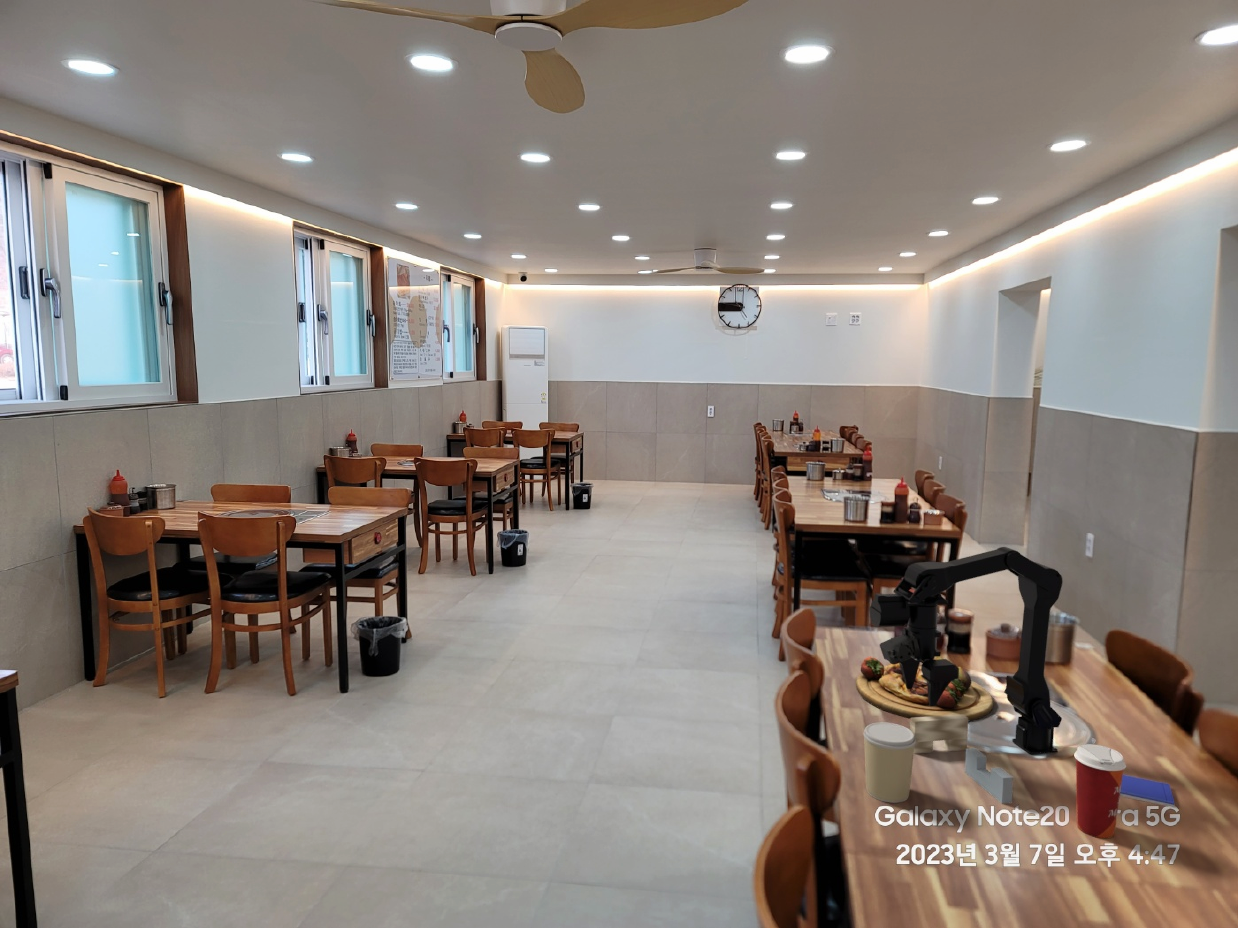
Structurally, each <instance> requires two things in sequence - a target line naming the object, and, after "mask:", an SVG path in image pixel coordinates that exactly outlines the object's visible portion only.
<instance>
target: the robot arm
mask: <svg viewBox="0 0 1238 928" xmlns="http://www.w3.org/2000/svg"><path fill="white" fill-rule="evenodd" d="M1004 571H1008V572H1010V573H1011V574H1013V575H1015V576H1016V577H1017V580H1018V591H1019V593H1020V595H1021V596H1020V597H1021V599H1022V601H1023V606H1024V607H1023V617H1022V625H1021V637H1020V649H1019V658H1018V669H1017V670H1016V671H1015V673H1014V674H1013V675H1006V677H1005V682H1006V685H1005V690H1004V691H1003V692H1004V694H1006V698H1007V701H1008V702H1009V703H1010V705H1012V706H1013V710H1014V712H1016V713H1017V714H1019V715H1020V716H1018V717H1017V724H1016V726H1015V738H1012V739H1011V741H1012V742H1013V743H1014V744H1016V746H1018V747H1019V748H1021V749H1022V750H1024V751H1026V752H1027V753H1028V754H1030V755H1041V754H1055V753H1058V752H1059V749H1058V748H1056V747H1055V746H1054V735H1055V734H1054V733H1055V732H1054V731H1055V728H1059V727H1060V726H1061V722H1062V719H1063V718H1062V716H1061V715H1060V714H1059V713H1058V712H1057V711H1056V710H1054V709H1053V707H1052V706H1051V695H1050V694H1051V693H1050V689H1049V687H1048V684H1047V680H1046V678H1045V667H1046V666H1045V665H1046V657H1047V647H1048V635H1049V624H1050V615H1051V609H1052V607H1053V606H1054V605H1055V604H1056V602H1057V601H1058V599H1060V594H1061V591H1062V588H1063V576H1062V575H1061V574H1060V572H1059V571H1058V570H1056V569H1055V568H1052V567H1049V566H1047V565H1045V564H1042V563H1040V562H1036V561H1033V560H1032V559H1029V558H1027V557H1026V556H1024V555H1023V554H1021V553H1020V551H1018V550H1015V549H1013V548H1010V547H1006V546H1001V547H998V548H996V549H994V550H990V551H985V552H981V553H977V554H973V555H969V556H965V557H961V558H957V559H954V560H950V561H944V562H943V561H940V562H939V561H925V562H922V561H921V562H920V561H919V562H914V563H911V564H910V565H908V567H907V569H906V570H905V572H904V576H903V577H902V579H901V580H900V581H899V583H898V584H897V585H896V587H895V588H894V590H893V593H874V595H873V596H874V598H873V600H872V601H871V603H870V606H869V616H870V622H871V624H872V625H873V627H875V628H890V627H891V628H892V627H894V628H895V627H903V628H902V630H901V634H900V635H898V636H894V637H891V638H890V639H887V640H885V641H882V642H881V643H880V644H879V648H880V651H881V654H882V656H883V659H884V660H886V661H888V662H889V664H898V663H899V664H900V667H901V670H902V674H903V677H904V681H905V685H906V688H907V689H912V687H913V685H914V682H915V678H916V675H917V671H918V667H919V666H921V671H922V673H923V675H921V677H922V678H923V679H924V680H925V681H926V682H927V689H928V700H929V705H930V706H935V705H936V704H937V702H938V700H939V699H940V697H941V695H942V694H943V692H944V690H945V689H946V687H947V686H948V685H949V683H950V682H951V681H954V680H955V679H958V678H959V668H958V667H959V666H957V665H956V664H955V663H953V662H951V661H950V660H948V658H947V659H946V658H943V659H938V660H935V659H934V657H938V656H940V657H942V655H941V652H942V651H940V650H939V649H938V648H937V643H938V642H937V639H938V638H942V632H941V631H940V630H938V606H947V605H949V601H948V600H947V599H946V598H944V596H943V595H942V594H941V593H944V592H946V591H947V590H949V589H950V588H951V587H952V586H953V585H956V584H957V583H958V584H959V582H963V581H968V580H972V579H976V578H979V577H984V576H988V575H991V574H996V573H999V572H1004ZM911 589H912V590H913V591H914V592H913V591H911ZM906 624H907V626H905V625H906ZM920 663H921V665H920Z"/></svg>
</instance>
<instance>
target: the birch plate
mask: <svg viewBox="0 0 1238 928" xmlns="http://www.w3.org/2000/svg"><path fill="white" fill-rule="evenodd" d="M909 719H910V721H909V722H910V723H909V730H911V731H912V732H913V734H914V736H915V739H916V742H915V745H914V754H915V755H916V754H927V753H933V751H934V749H933V748H934V742H935V741H938V742H939V741H943V748H944V749H946V750H947V751H948V752H956V751H957V752H958V751H966V748H968V736H969V735H968V731H969V721H968V718H967V717H966V716H965V715H963V714H960V715H944V716H929V717H914V718H909Z"/></svg>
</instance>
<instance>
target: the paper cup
mask: <svg viewBox="0 0 1238 928" xmlns="http://www.w3.org/2000/svg"><path fill="white" fill-rule="evenodd" d="M1073 755H1074V758H1075V760H1076V761H1075V762H1076V765H1075V767H1076V769H1075V770H1076V771H1075V773H1076V774H1075V775H1076V776H1075V778H1076V780H1075V782H1076V785H1075V786H1076V790H1075V791H1076V793H1075V794H1076V825H1077V828H1078V829H1079V830H1080V831H1081V832H1082V833H1084V834H1085V835H1088V836H1091V837H1094V838H1098V839H1111V838H1113V836H1114V834H1115V831H1116V824H1117V818H1118V811H1119V804H1120V797H1121V796H1120V791H1121V783H1122V776H1123V775H1124V770H1125V769H1126V767H1127V763H1126V762H1125V760H1124V756H1123V755H1122V754H1121V752H1119V751H1117V750H1116V749H1113V748H1111V747H1108V746H1105V745H1100V744H1090V743H1088V744H1082V745H1079V746H1078V747H1077V749H1076V751H1075V752H1074V754H1073Z"/></svg>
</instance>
